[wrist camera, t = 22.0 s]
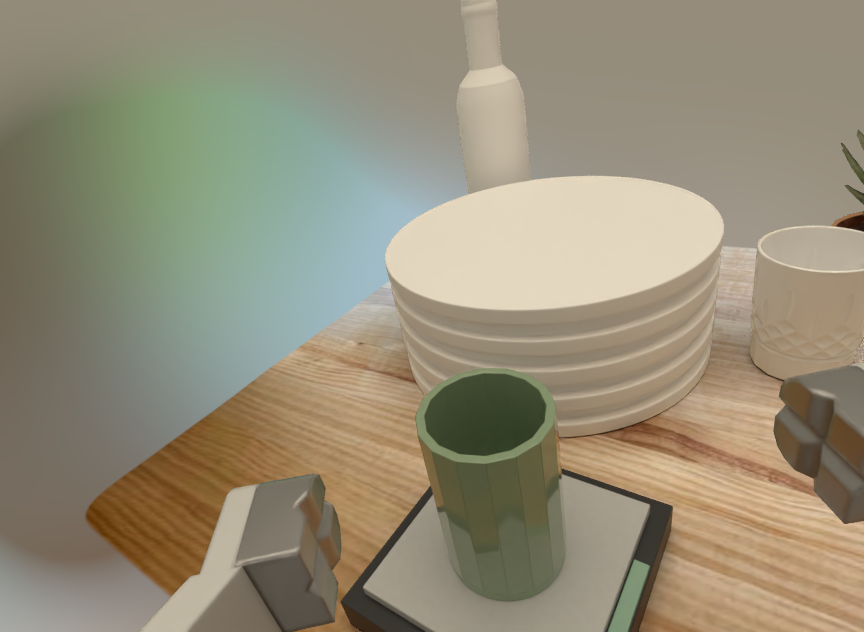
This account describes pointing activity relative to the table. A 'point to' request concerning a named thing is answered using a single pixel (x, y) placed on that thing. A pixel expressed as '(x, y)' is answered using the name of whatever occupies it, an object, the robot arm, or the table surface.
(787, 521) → the table surface
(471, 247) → the plate stack
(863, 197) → the potted plant
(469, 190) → the bottle
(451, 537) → the tumbler
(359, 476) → the table surface
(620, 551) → the scale
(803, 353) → the white cup
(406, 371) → the table surface
